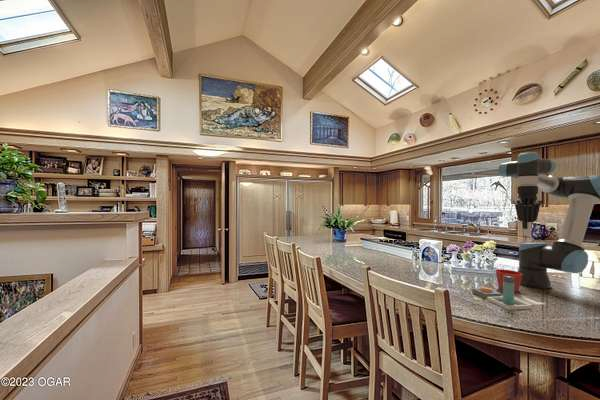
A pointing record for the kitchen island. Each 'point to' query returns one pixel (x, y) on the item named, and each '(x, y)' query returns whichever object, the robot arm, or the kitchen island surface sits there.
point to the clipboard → (528, 299)
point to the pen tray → (509, 307)
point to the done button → (486, 289)
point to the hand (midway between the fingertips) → (527, 235)
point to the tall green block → (508, 290)
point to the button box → (485, 295)
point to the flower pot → (515, 274)
